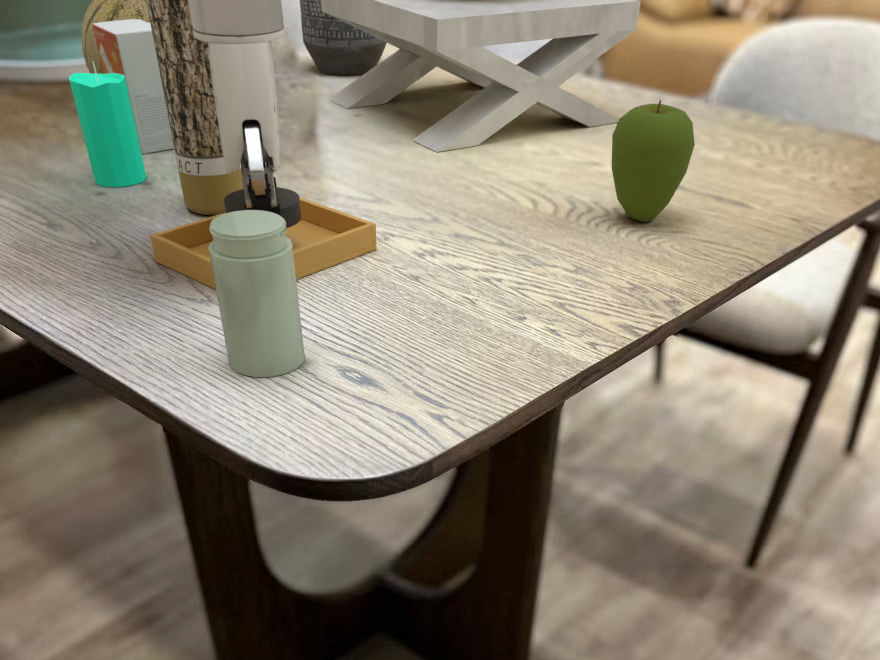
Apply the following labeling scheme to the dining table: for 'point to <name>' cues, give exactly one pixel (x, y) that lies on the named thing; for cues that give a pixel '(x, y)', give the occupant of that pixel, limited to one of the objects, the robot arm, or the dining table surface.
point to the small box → (137, 77)
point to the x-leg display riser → (485, 56)
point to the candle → (108, 128)
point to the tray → (313, 238)
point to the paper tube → (191, 108)
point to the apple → (650, 158)
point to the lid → (283, 196)
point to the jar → (257, 292)
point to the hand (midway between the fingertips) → (265, 233)
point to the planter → (337, 42)
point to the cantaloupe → (107, 5)
